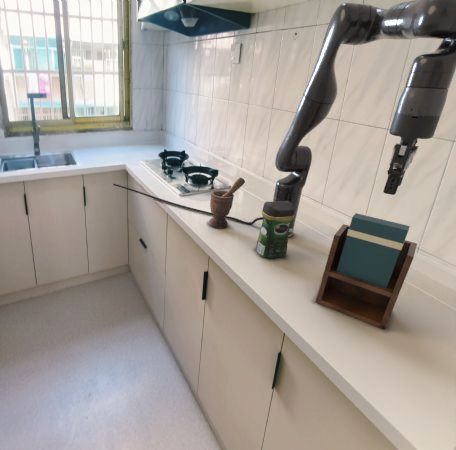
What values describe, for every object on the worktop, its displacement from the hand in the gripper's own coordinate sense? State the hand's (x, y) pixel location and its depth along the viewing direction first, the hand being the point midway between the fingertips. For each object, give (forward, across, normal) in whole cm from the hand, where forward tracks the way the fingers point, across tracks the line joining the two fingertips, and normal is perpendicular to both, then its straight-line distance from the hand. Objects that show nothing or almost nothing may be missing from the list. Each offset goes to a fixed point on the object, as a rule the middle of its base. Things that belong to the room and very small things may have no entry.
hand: (391, 189), depth 74 cm
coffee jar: (+33, -15, -28) cm, 46 cm away
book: (+23, 0, 0) cm, 23 cm away
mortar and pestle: (+33, -25, -52) cm, 67 cm away
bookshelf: (+33, -2, 0) cm, 33 cm away
